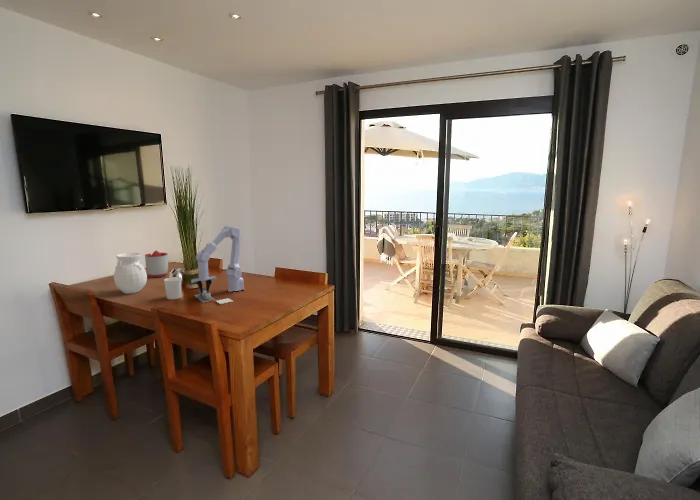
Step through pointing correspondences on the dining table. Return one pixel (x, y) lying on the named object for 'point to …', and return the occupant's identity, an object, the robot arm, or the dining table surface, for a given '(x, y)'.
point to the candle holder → (173, 287)
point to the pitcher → (129, 273)
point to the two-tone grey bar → (205, 293)
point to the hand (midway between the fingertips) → (204, 292)
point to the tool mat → (203, 298)
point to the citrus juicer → (156, 264)
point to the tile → (224, 301)
